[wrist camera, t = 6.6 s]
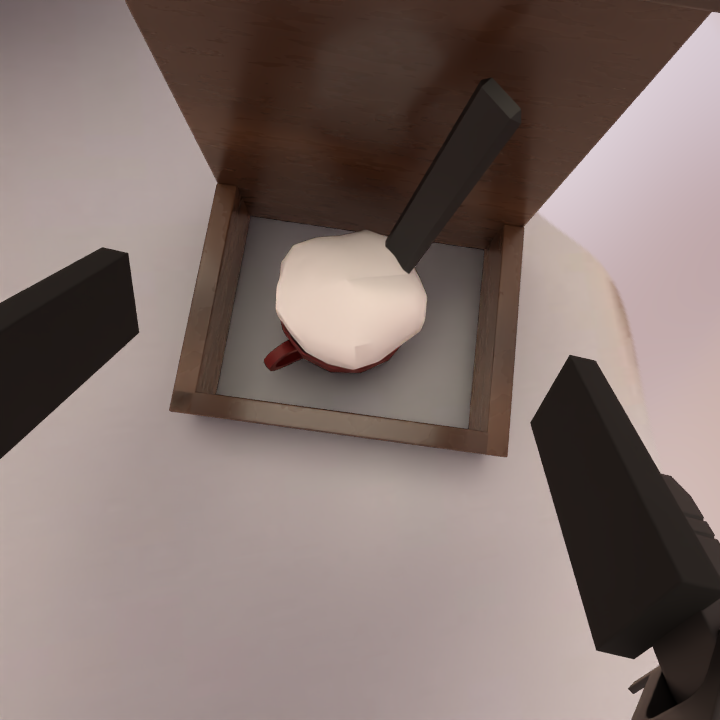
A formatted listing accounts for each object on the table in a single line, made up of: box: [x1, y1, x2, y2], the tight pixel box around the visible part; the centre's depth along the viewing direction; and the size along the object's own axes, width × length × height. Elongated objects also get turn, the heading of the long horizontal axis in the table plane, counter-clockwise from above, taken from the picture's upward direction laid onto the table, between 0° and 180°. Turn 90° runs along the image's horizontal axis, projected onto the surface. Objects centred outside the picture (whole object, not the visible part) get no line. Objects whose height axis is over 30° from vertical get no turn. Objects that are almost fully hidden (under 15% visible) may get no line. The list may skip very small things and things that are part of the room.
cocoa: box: [264, 77, 521, 373], centre depth 17 cm, size 10×6×12 cm, turn 105°
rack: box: [125, 0, 720, 457], centre depth 15 cm, size 13×15×15 cm
